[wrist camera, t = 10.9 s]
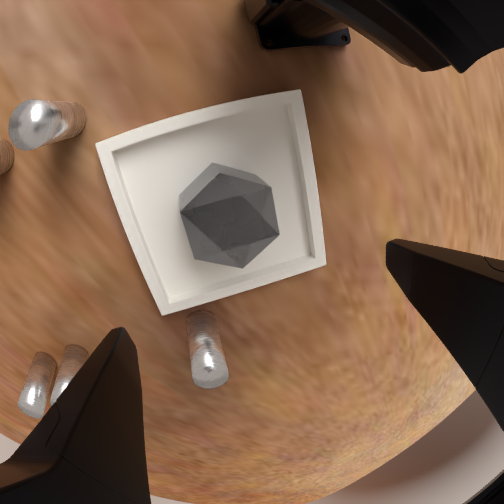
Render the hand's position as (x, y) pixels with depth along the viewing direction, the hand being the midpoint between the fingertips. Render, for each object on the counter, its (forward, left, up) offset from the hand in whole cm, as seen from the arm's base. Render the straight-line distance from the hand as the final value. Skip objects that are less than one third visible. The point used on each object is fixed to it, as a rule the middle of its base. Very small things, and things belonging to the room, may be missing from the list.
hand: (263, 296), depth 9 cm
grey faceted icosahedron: (0, +1, -11) cm, 11 cm away
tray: (0, +1, -12) cm, 12 cm away
